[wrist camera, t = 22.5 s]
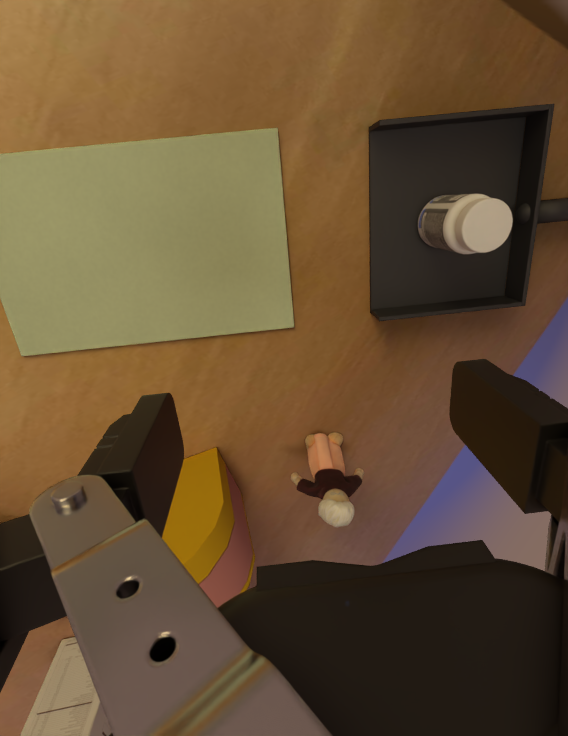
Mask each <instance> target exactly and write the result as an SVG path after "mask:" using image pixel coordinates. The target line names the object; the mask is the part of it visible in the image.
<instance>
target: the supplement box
mask: <svg viewBox="0 0 568 736" xmlns="http://www.w3.org/2000/svg"><path fill="white" fill-rule="evenodd" d="M111 733H112V731H111V728H110V726H109V723H108V721H107V718H106V715H105V713H104V710H103V708H102V705H101V702H100V700H99V697H98V695H97V692H96V689H95V687H94V684H93V682H92V679H91V676H90V674H89V671H88V669H87V666H86V664H85V661H84V658H83V656H82V653H81V651H80V648H79V645H78V643H77V640H76V638H75V637H72V638H68V639H63V640H62V641H61V643H60V645H59V647H58V650H57V652H56V654H55V657H54V659H53V661H52V664H51V666H50V668H49V670H48V673H47V675H46V677H45V680H44V682H43V684H42V687H41V689H40V691H39V693H38V696H37V698H36V700H35V703H34V705H33V707H32V710H31V712H30V714H29V717H28V719H27V721H26V723H25V726H24V728H23V730H22V732H21V735H20V736H109V735H110V734H111Z"/></svg>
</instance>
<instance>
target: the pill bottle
mask: <svg viewBox="0 0 568 736" xmlns="http://www.w3.org/2000/svg"><path fill="white" fill-rule="evenodd" d="M512 223H513V218H512V213H511V210H510V208H509V207H508V205H507V204H506V203H504V202H503V201H501V200H499V199H495V198H490V197H488V196H486V195H483V194H461V195H443V196H439V197H436V198H434V199H433V200H431V201H430V202H429V203H428V204H427V205H426V206H425V207H424V208H423V210H422V211H421V213H420V216H419V219H418V231H419V234H420V237H421V238H422V240H423V241H424V242H425V243H426V244H428V245H430V246H432V247H435V248H440V249H444V250H448V251H452V252H456V253H459V254H473V253H477V252H478V253H486V252H490V251H492V250H495V249H496V248H498V247H499V246H501V245H502V244H503V243H504V242H505V240H506V239H507V237H508V236H509V234H510V231H511V228H512Z"/></svg>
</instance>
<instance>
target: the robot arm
mask: <svg viewBox="0 0 568 736" xmlns="http://www.w3.org/2000/svg"><path fill="white" fill-rule="evenodd" d="M450 421H451V425H452V427H453V430H454V431H455V433H456V434H457V435H458V436H459V438H460V439H461V440H462V441H463V442H464V443H465V445H466V446H467V447H468V448H469V449H470V450H471V451H472V453H473V454H474V455H475V456H476V457H477V459H478V460H479V461H480V462H481V463H482V464H483V466H484V467H485V468H486V469H487V470H488V471H489V473H490V474H491V475H492V476H493V477H494V478H495V479H496V481H497V482H498V483H499V484H500V485H501V486H502V487H503V489H504V490H505V491H506V492H507V494H508V495H509V496H510V497H511V498H512V499H513V501H514V502H515V503H516V504H517V505H518V506H519V507H520V508H521V510H522V511H523V512H524V513H525V514H527V513H535V512H543V511H549V512H550V513H551V519H550V523H549V528H548V540H547V552H546V562H545V571H543V570H540V569H537V568H534V567H531V566H528V565H525V564H521V563H517V562H513V561H508V560H503V559H495V558H494V557H493V555H492V554H491V552H490V551H489V549H488V548H487V546H486V545H485V543H484V542H483V541H482V540H478V541H470V542H462V543H453V544H445V545H437V546H428V547H425V548H422V549H420V550H417V551H414V552H412V553H409V554H406V555H404V556H401V557H399V558H396V559H393V560H390V561H388V562H385V563H382V564H379V565H375V566H365V565H355V564H345V563H335V562H325V561H315V560H311V561H303V562H294V563H286V564H278V565H269V566H261V567H257V586H256V587H254V588H251V589H249V590H246V591H244V592H242V593H240V594H238V595H236V596H234V597H233V598H231V599H230V600H228V601H227V602H225V603H223V604H222V605H221V606H219V607H218V608H217V607H216V606H215V604H214V603H213V602H212V601H211V599H210V598H209V597H208V596H207V594H206V593H205V592H204V591H203V589H202V588H201V587H200V586H199V584H198V583H197V582H196V581H195V579H194V578H193V577H192V576H191V574H190V573H189V572H188V570H187V569H186V568H185V567H184V565H183V564H182V563H181V562H180V560H179V559H178V558H177V557H176V555H175V554H174V553H173V552H172V550H171V549H170V548H169V547H168V545H167V544H166V543H165V542H164V540H163V539H162V536H163V532H164V528H165V525H166V521H167V518H168V514H169V511H170V507H171V504H172V500H173V497H174V493H175V489H176V486H177V482H178V479H179V475H180V472H181V468H182V465H183V459H184V447H183V440H182V436H181V431H180V427H179V422H178V417H177V413H176V408H175V404H174V400H173V397H172V395H171V394H170V393H162V394H153V395H144V396H142V397H141V398H140V400H139V401H138V403H137V405H136V407H135V408H134V410H133V412H132V413H131V414H127V415H123V416H122V417H121V418H119V419H118V420H117V421H115V422H114V423H113V424H111V425H110V427H109V428H108V430H107V431H106V433H105V434H104V436H103V439H101V440H100V442H99V443H98V445H97V446H96V447H97V449H94V451H93V453H92V454H91V456H90V457H89V459H88V460H87V462H86V463H85V465H84V466H83V468H82V469H81V471H80V472H79V474H78V475H77V476H76V477H72V478H69V479H66V480H63V481H61V482H59V483H57V484H55V485H53V486H51V487H50V488H48V489H47V490H45V491H44V492H43V493H41V494H40V495H39V496H38V497H37V498H36V499H35V500H34V502H33V503H32V505H31V507H30V511H29V515H26V516H23V517H20V518H16V519H13V520H10V521H7V522H4V523H1V524H0V692H1V690H2V688H3V686H4V684H5V681H6V679H7V677H8V675H9V673H10V671H11V669H12V667H13V664H14V662H15V660H16V658H17V656H18V654H19V652H20V650H21V647H22V645H23V643H24V641H25V639H26V637H27V635H28V632H29V631H31V630H33V629H35V628H38V627H40V626H43V625H45V624H48V623H50V622H53V621H55V620H58V619H60V618H63V617H65V616H67V617H68V619H69V622H70V625H71V627H72V630H73V632H74V635H75V638H76V640H77V643H78V645H79V648H80V651H81V653H82V656H83V658H84V661H85V664H86V666H87V669H88V671H89V674H90V676H91V679H92V682H93V684H94V687H95V689H96V692H97V695H98V697H99V700H100V702H101V705H102V708H103V710H104V713H105V715H106V718H107V721H108V723H109V726H110V728H111V731H112V733H111V734H110V735H109V736H568V409H567V408H566V407H564V406H563V405H562V404H560V403H559V402H557V401H555V400H554V399H550V397H549V396H548V395H547V394H545V393H543V392H542V391H539V389H538V388H536V387H535V386H533V385H532V384H530V383H529V382H527V381H525V380H523V379H520V378H518V377H515V376H512V375H509V374H507V373H505V372H504V371H503V370H501V369H500V368H498V367H497V366H495V365H494V364H492V363H491V362H489V361H488V360H486V359H479V360H470V361H461V362H457V363H456V364H455V365H454V368H453V374H452V387H451V399H450Z"/></svg>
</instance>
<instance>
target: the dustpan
mask: <svg viewBox="0 0 568 736" xmlns="http://www.w3.org/2000/svg"><path fill="white" fill-rule="evenodd" d="M553 110H554V104H546V105H535V106H524V107H514V108H503V109H493V110H482V111H472V112H461V113H450V114H440V115H429V116H419V117H408V118H397V119H387V120H379V121H378V122H376V123H375V124H373V125H372V126H370V127H369V196H370V313H371V314H373V315H374V316H375V317H376V318H377V319H378V320H379V321H386V320H395V319H405V318H414V317H423V316H433V315H442V314H452V313H461V312H470V311H480V310H489V309H499V308H508V307H517V306H525V304H526V297H527V290H528V283H529V276H530V269H531V262H532V255H533V248H534V241H535V234H536V228H537V224H540V223H550V222H559V221H568V198H562V199H552V200H542V201H540V200H541V193H542V186H543V179H544V172H545V165H546V158H547V152H548V145H549V138H550V131H551V124H552V117H553ZM526 117H527V118H526ZM525 122H526V126H525ZM524 130H525V134H524ZM523 138H524V142H523ZM522 147H523V150H522ZM521 155H522V158H521ZM520 163H521V166H520ZM519 171H520V175H519ZM518 179H519V183H518ZM517 187H518V191H517ZM461 194H483V195H486V196H488V197H490V198H495V199H499V200H501V201H503V202H504V203H506V204H507V205H508V207H509V208H510V210H511V213H512V218H513V220H514V223H512V228H513V231H512V228H511V231H510V234H509V236H508V237H507V239H506V240H505V242H504V243H503V244H502V245H501V246H499V247H498V248H496V249H495V250H492V251H490V252H486V253H478V252H477V253H473V254H459V253H456V252H452V251H448V250H444V249H440V248H435V247H432V246H430V245H428V244H426V243H425V242H424V241H423V240H422V238H421V237H420V234H419V231H418V219H419V216H420V213H421V211H422V210H423V208H424V207H425V206H426V205H427V204H428V203H429V202H430V201H431V200H433V199H434V198H436V197H439V196H443V195H461ZM516 195H517V199H516ZM515 204H516V207H515ZM514 212H515V215H514ZM511 236H512V239H511ZM510 244H511V248H510ZM509 252H510V256H509ZM508 261H509V264H508ZM507 269H508V272H507ZM506 277H507V280H506ZM505 285H506V288H505ZM504 293H505V296H504Z"/></svg>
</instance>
